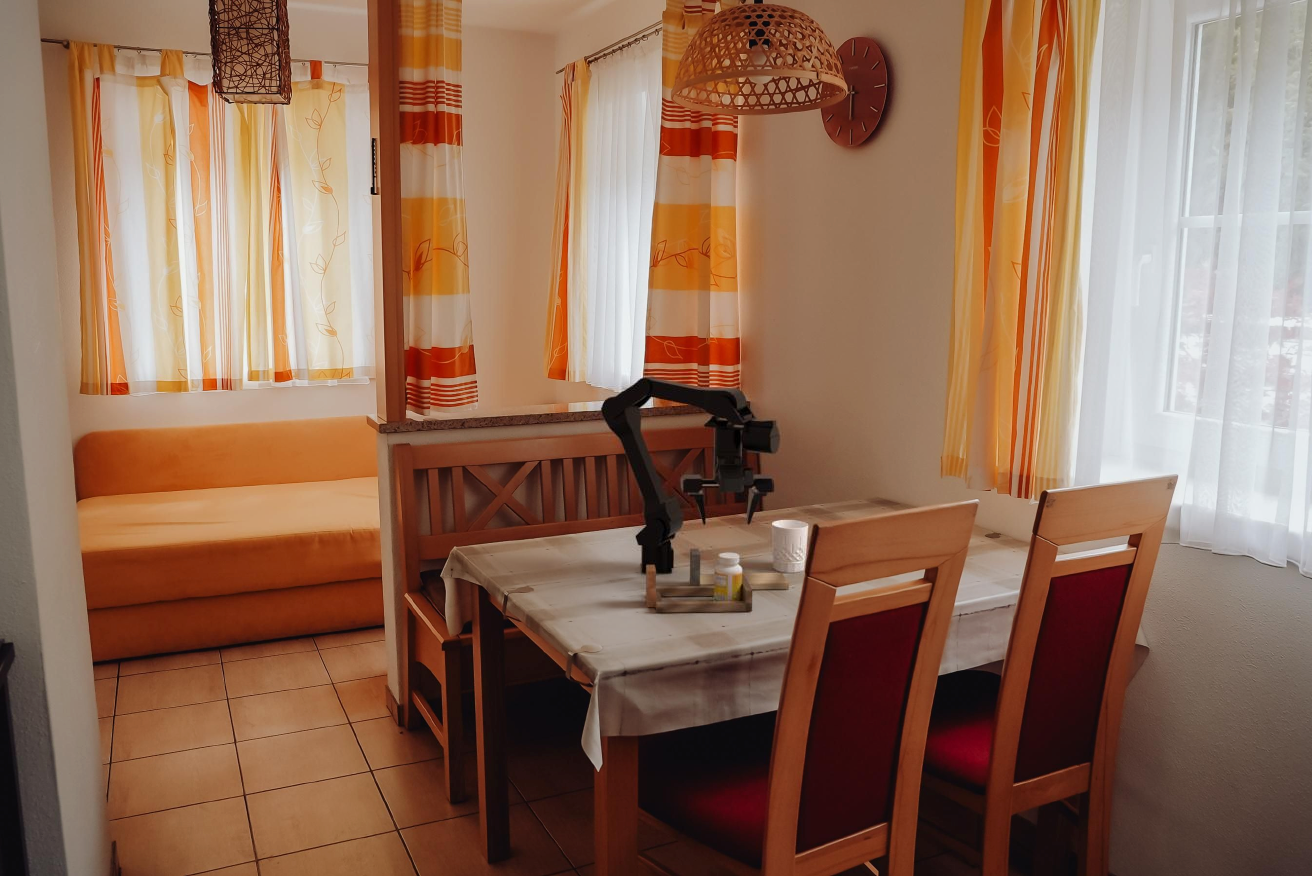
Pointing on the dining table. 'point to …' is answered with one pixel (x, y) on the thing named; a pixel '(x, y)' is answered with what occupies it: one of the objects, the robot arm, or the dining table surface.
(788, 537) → the white cup
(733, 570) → the supplement bottle
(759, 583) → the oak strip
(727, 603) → the wooden tray
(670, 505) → the robot arm
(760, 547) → the dining table surface
